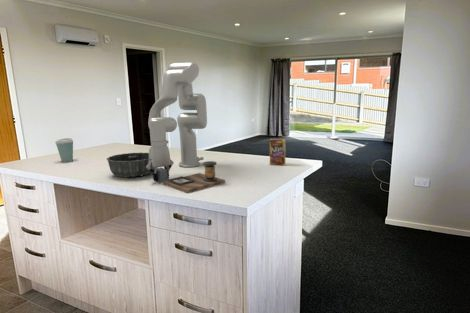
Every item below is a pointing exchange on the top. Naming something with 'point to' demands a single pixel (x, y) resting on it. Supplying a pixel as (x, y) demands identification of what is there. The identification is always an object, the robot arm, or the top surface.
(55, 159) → the top surface
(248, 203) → the top surface
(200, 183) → the winding board
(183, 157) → the robot arm
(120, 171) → the bundt pan
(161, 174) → the gray rectangular block
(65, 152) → the disposable coffee cup
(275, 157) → the candy box
